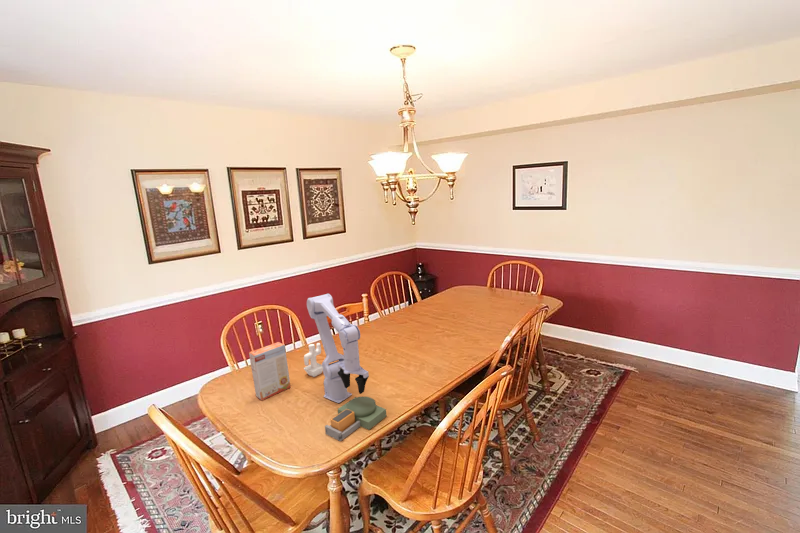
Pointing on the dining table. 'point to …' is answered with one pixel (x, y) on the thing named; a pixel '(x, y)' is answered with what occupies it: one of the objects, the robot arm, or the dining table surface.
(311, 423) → the dining table surface
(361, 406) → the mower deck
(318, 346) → the figurine
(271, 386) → the cracker box
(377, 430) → the dining table surface
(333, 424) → the orange-framed grey panel
